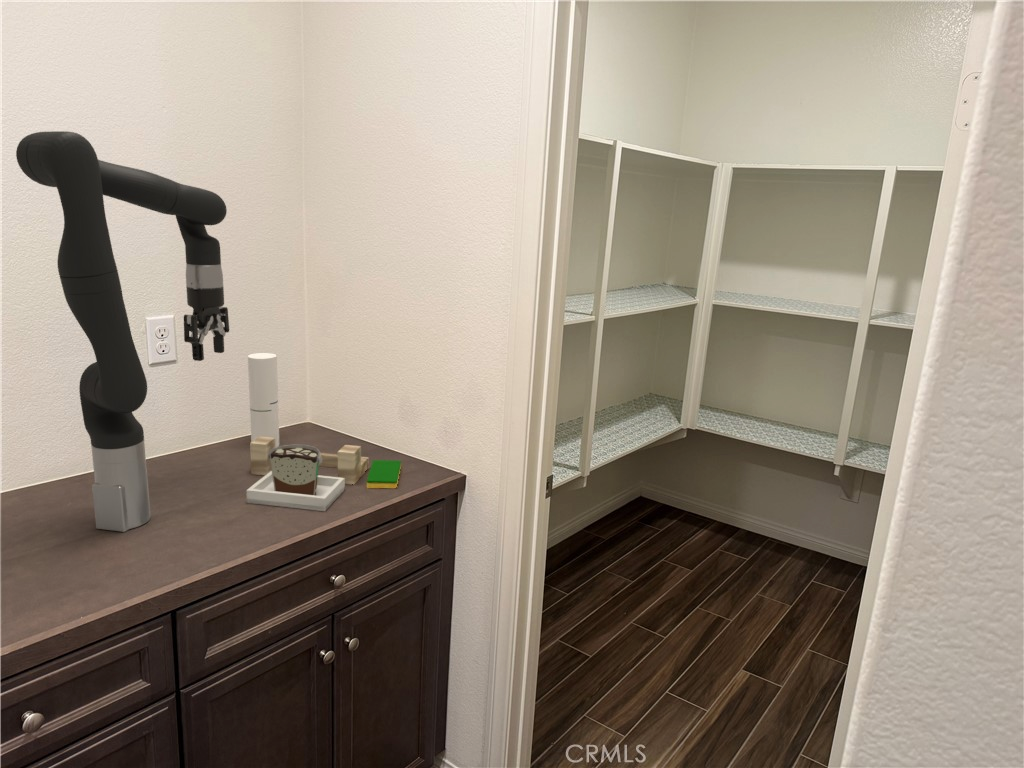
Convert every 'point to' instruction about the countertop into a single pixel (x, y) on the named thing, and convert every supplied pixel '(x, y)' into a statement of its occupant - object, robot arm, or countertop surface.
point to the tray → (321, 501)
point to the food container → (295, 468)
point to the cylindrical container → (263, 396)
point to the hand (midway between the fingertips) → (209, 356)
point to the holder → (345, 461)
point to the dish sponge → (384, 474)
